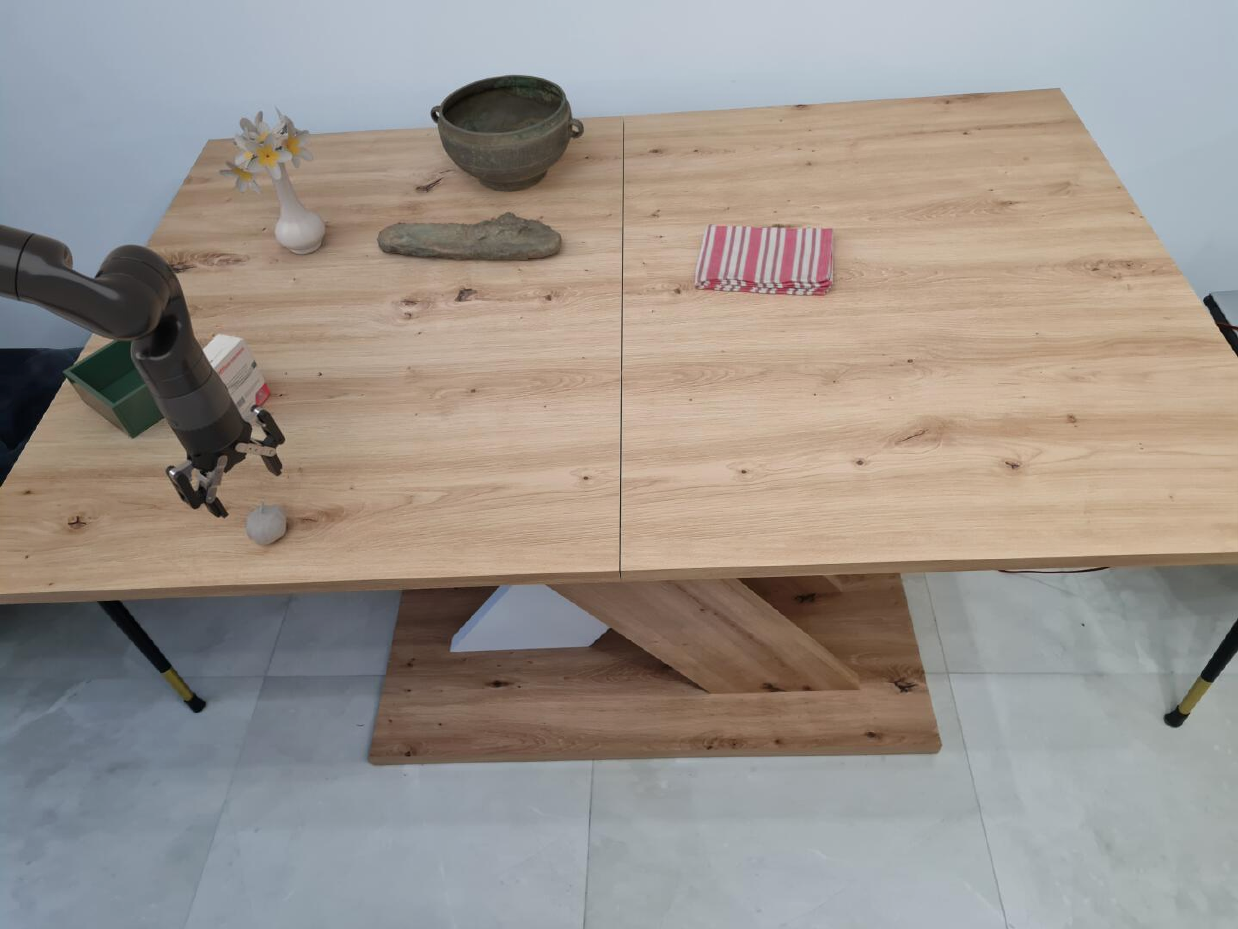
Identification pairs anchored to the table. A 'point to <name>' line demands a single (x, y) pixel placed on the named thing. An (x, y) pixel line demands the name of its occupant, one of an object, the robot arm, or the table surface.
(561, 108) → the bowl
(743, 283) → the dish towel
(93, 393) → the green tapered tray
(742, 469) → the table surface
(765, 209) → the table surface
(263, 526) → the garlic
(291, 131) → the flower vase
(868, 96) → the table surface
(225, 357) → the ink box
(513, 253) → the elongated rock
